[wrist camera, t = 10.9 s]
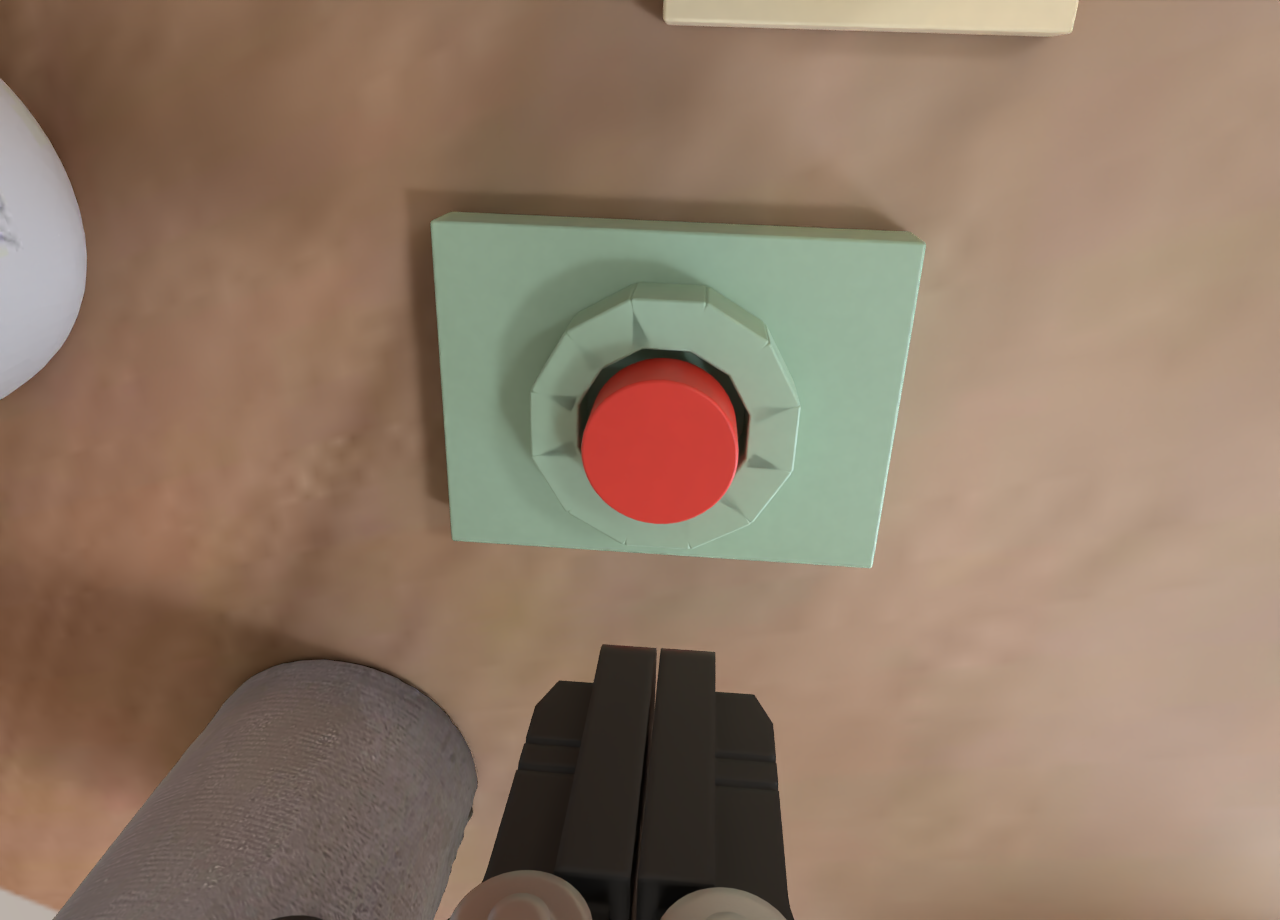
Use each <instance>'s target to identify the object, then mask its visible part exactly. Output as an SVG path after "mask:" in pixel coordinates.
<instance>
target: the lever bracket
mask: <svg viewBox="0 0 1280 920" xmlns="http://www.w3.org/2000/svg"><path fill="white" fill-rule="evenodd" d="M1078 3H1079V0H663V20H664V22H665V23H666V24H668V25H684V26H717V27H750V28H783V29H816V30H848V31H881V32H914V33H947V34H980V35H1013V36H1046V37H1051V36H1058V35H1065V34H1069V33H1071V32H1072V30H1073V26H1074V21H1075V17H1076V12H1077V7H1078Z"/></svg>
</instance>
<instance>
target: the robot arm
mask: <svg viewBox="0 0 1280 920" xmlns="http://www.w3.org/2000/svg"><path fill="white" fill-rule="evenodd" d="M656 657H657V650H656V648H647V647H633V646H619V645H605V644H603V645H602V647H601V650H600V655H599V660H598V664H597V669H596V674H595V679H594V683H585V682H572V681H558V682H557V683H556V684H555V686H554V687H553V688H552V689H551V690H550V691H549V692H548V693H547V694H546V695H545V696H544V697H543V698H542V700H541V701H540V702H539V703H538V704H537V705H536V706H535V709H534V713H533V716H532V719H531V723H530V726H529V729H528V733H527V736H526V743H524V746H523V750H522V753H521V756H520V760H519V764H518V770H516V773H515V777H514V780H513V783H512V787H511V790H510V794H509V797H508V800H507V804H506V807H505V811H504V814H503V817H502V821H501V824H500V827H499V831H498V834H497V838H496V841H495V844H494V848H493V851H492V854H491V858H490V861H489V865H488V868H487V871H486V874H485V876H484V879H483V881H482V883H481V884H479V885H478V886H477V887H475V888H474V889H473V890H471V891H470V892H469V893H468V894H467V895H466V896H465V897H464V898H463V899H462V900H461V902H460V903H459V904H458V906H457V907H456V908H455V910H454V912H453V914H452V915H451V917H450V918H449V919H448V920H794V918H793V915H792V912H791V909H790V905H789V899H788V890H787V879H786V868H785V856H784V845H783V833H782V822H781V810H780V799H779V791H778V776H777V765H776V753H775V742H774V730H773V723H772V722H771V720H770V719H769V717H768V715H767V714H766V712H765V711H764V709H763V708H762V706H761V705H760V703H759V702H758V700H757V698H756V697H755V695H751V694H737V693H724V692H715V652H707V651H692V650H678V649H664V648H661V652H660V661H659V671H658V681H657V691H656V701H655V684H656ZM654 710H655V711H654ZM272 920H323V919H320V918H317V917H312V916H306V915H291V916H285V917H279V918H275V919H272Z"/></svg>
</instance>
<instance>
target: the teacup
mask: <svg viewBox="0 0 1280 920" xmlns="http://www.w3.org/2000/svg"><path fill="white" fill-rule="evenodd" d="M86 269H87V252H86V240H85V233H84V228H83V224H82V219H81V214H80V209H79V206H78V203H77V200H76V197H75V194H74V191H73V188H72V185H71V183H70V180H69V178H68V176H67V173H66V171H65V169H64V167H63V165H62V162H61V161H60V159H59V157H58V155H57V153H56V151H55V149H54V148H53V146H52V144H51V142H50V140H49V139H48V137H47V136H46V134H45V133H44V131H43V130H42V128H41V127H40V125H39V124H38V122H37V121H36V119H35V118H34V117H33V115H32V114H31V113H30V112H29V110H28V109H27V108H26V106H25V105H24V104H23V102H22V101H21V100H20V99H19V98H18V97H17V95H16V94H15V93H14V92H13V91H12V90H11V89H10V87H9V86H8V85H7V84H6V83H5V82H4V81H3V80H2V79H1V78H0V399H2V398H4V397H6V396H7V395H9V394H10V393H12V392H13V391H14V390H16V389H17V388H18V387H20V386H21V385H23V384H24V383H25V382H27V381H28V380H30V379H31V378H32V377H33V376H34V375H35V374H37V373H38V372H39V371H40V370H41V369H42V368H43V367H44V366H45V365H46V364H47V363H48V362H49V361H50V359H51V358H52V357H53V356H54V355H55V354H56V352H57V351H58V350H59V349H60V348H61V347H62V345H63V343H64V342H65V340H66V339H67V337H68V336H69V333H70V331H71V329H72V327H73V325H74V323H75V321H76V318H77V316H78V313H79V309H80V306H81V302H82V299H83V295H84V291H85V283H86Z"/></svg>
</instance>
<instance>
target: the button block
mask: <svg viewBox="0 0 1280 920" xmlns="http://www.w3.org/2000/svg"><path fill="white" fill-rule="evenodd" d="M430 225H431V239H432V254H433V269H434V284H435V298H436V313H437V328H438V343H439V358H440V372H441V387H442V402H443V417H444V431H445V446H446V461H447V476H448V490H449V505H450V520H451V535H452V540H454V541H466V542H481V543H496V544H511V545H526V546H541V547H557V548H572V549H587V550H602V551H617V552H633V553H648V554H663V555H678V556H693V557H709V558H724V559H739V560H754V561H769V562H785V563H800V564H815V565H830V566H845V567H861V568H871V567H872V565H873V560H874V554H875V548H876V542H877V536H878V530H879V524H880V518H881V512H882V506H883V500H884V494H885V488H886V482H887V476H888V470H889V464H890V458H891V452H892V446H893V440H894V434H895V428H896V422H897V416H898V410H899V404H900V398H901V392H902V386H903V380H904V374H905V368H906V362H907V356H908V350H909V344H910V338H911V332H912V326H913V320H914V314H915V308H916V302H917V296H918V290H919V284H920V278H921V272H922V266H923V260H924V254H925V248H926V244H925V242H923V241H922V240H921V239H919V238H918V237H916V236H915V235H914V234H912V233H911V232H907V231H884V230H861V229H838V228H815V227H792V226H769V225H746V224H723V223H700V222H677V221H654V220H631V219H608V218H585V217H562V216H540V215H517V214H494V213H471V212H449V213H447V214H445V215H443V216H441V217H439V218H437V219H434V220H432V221H431V224H430ZM653 358H671V359H678V360H682V361H686V362H688V363H691V364H694V365H696V366H698V367H699V368H701V369H703V370H705V371H706V372H707V373H709V374H710V375H712V376H713V377H714V378H715V379H716V380H717V381H718V382H719V383H720V385H721V386H722V387H723V388H724V390H725V391H726V393H727V394H728V396H729V398H730V400H731V403H732V405H733V408H734V411H735V416H736V423H737V436H738V448H739V456H738V465H737V470H736V473H735V476H734V479H733V481H732V483H731V485H730V487H729V488H728V490H727V491H726V493H725V494H724V495H723V496H722V498H721V499H720V500H719V501H718V502H717V503H716V504H715V505H713V506H712V507H711V508H710V509H708V510H707V511H705V512H704V513H702V514H700V515H698V516H696V517H694V518H691V519H688V520H686V521H682V522H677V523H670V524H653V523H645V522H641V521H637V520H634V519H632V518H629V517H627V516H625V515H623V514H621V513H619V512H617V511H616V510H614V509H613V508H611V507H610V506H609V505H608V504H607V503H605V502H604V501H603V500H602V499H601V497H600V496H599V495H598V494H597V493H596V492H595V490H594V489H593V487H592V486H591V484H590V482H589V480H588V478H587V476H586V473H585V470H584V467H583V462H582V455H581V445H582V437H583V433H584V429H585V426H586V424H587V421H588V418H589V415H590V413H591V410H592V407H593V405H594V402H595V399H596V397H597V395H598V393H599V392H600V390H601V389H602V387H603V386H604V385H605V383H606V382H607V381H608V380H609V379H610V378H611V377H612V376H613V375H615V374H616V373H617V372H618V371H620V370H621V369H623V368H625V367H627V366H628V365H631V364H633V363H636V362H639V361H642V360H646V359H653Z"/></svg>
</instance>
